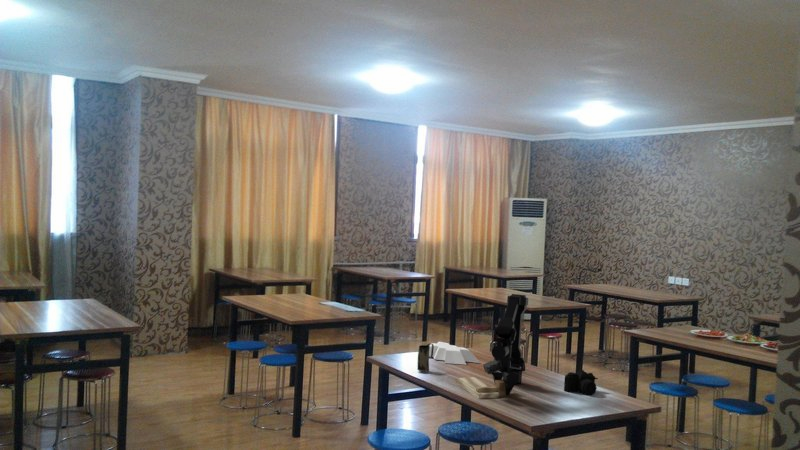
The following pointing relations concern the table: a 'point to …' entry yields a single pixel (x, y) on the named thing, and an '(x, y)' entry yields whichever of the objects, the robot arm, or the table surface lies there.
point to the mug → (424, 357)
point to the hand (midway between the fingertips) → (502, 392)
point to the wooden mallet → (495, 388)
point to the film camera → (580, 382)
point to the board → (471, 385)
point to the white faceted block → (452, 353)
